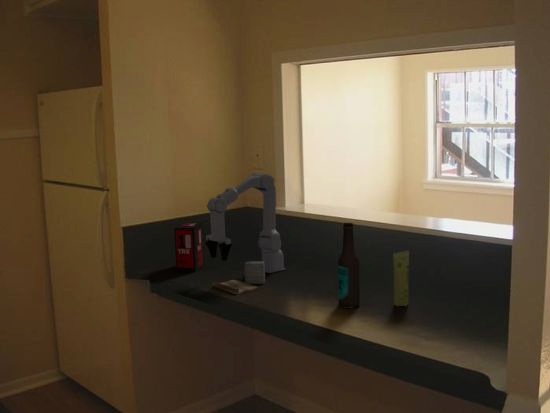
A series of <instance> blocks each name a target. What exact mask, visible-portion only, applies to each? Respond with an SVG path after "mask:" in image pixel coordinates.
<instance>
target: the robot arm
mask: <svg viewBox="0 0 550 413" xmlns="http://www.w3.org/2000/svg"><path fill="white" fill-rule="evenodd" d="M251 188H254V189H255V190H258V191H259V192H260V193H261V194H262V196H263V197H262V198H263V199H262V200H263V201H262V204H263V206H262V208H263V209H262V214H263V215H262V216H263V218H262V222H263V223H262V230H261V231H260V232H259V238H258V241H257V246H258V247H259V248H260V251H261V261H264V264H265V273H268V274H272V273H276V272H280V271H285V270H286V268H285V264H284V263H285V262H284V260H285V256H284V253H283V251H282V250H281V247H282V240H281V234H280V233H279V232H278V231H277V229H276V227H277V226H276V224H277V223H276V221H277V220H276V218H277V214H276V211H277V210H276V209H277V208H276V207H277V205H276V204H277V202H276V201H277V200H276V198H277V196H276V195H277V191H276V186H275V178H274V177H273V176H272V175H271V174H269V173H266V174H265V173H256V172H253V173H251V174H250V175H247V177H246V178H245V179H244V180H243V181H242V182H240V183H238V185H236V186H235V187H234V188H232V187H227V188H225V189H224V190H225V191H223V192H221V193H220V194H217V195H216V197H211V198H210V199H209V200H208V202H207V205H206V207H207V210H208V211H209V215H210V216H209V217H210V232H211V233H210V234H207V235H206V236H205V237H206V238H205V239H206V241H204V245H206V247H207V248H208V252H209V255H210V258H211V259H214V258H217V256H218V255H217V254H218V253H217V252H218V248H219V250H220V251H219V252H220V255H221V261H222V262H224V261H228V257H229V254H230V251H231V250H230V249H231V248H232V246H233V243H232V239H231V238H228V237H227V236H226V225H225V220H226V219H225V211H226V210H227V208H228V206H230V205H232V203H234V202H235V201H237V200H238V199H239V196H240V195H241V194H243V193H245V192H247V191H248V190H250V189H251Z"/></svg>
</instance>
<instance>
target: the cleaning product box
mask: <svg viewBox="0 0 550 413" xmlns="http://www.w3.org/2000/svg"><path fill="white" fill-rule="evenodd" d="M173 230H174V248H175V249H174V250H175V268H176V270H175V271H176V273H196V272H197V271H198V270H200V269H201V268H202V267H203V266H204V264H206V261H205V260H206V259H205V240H204V239H205V238H204V237H205V236H204V222H203V221H184V222H182V223H180V224H178V226H176V227H174V228H173Z"/></svg>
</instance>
